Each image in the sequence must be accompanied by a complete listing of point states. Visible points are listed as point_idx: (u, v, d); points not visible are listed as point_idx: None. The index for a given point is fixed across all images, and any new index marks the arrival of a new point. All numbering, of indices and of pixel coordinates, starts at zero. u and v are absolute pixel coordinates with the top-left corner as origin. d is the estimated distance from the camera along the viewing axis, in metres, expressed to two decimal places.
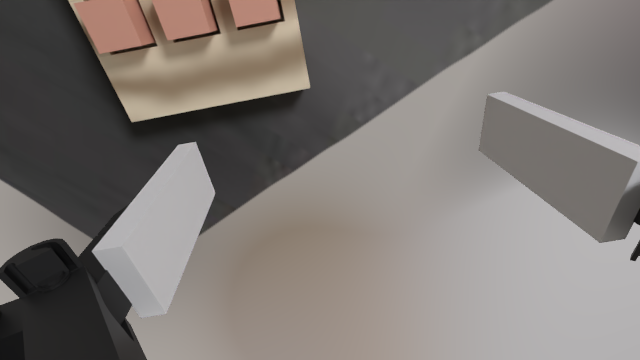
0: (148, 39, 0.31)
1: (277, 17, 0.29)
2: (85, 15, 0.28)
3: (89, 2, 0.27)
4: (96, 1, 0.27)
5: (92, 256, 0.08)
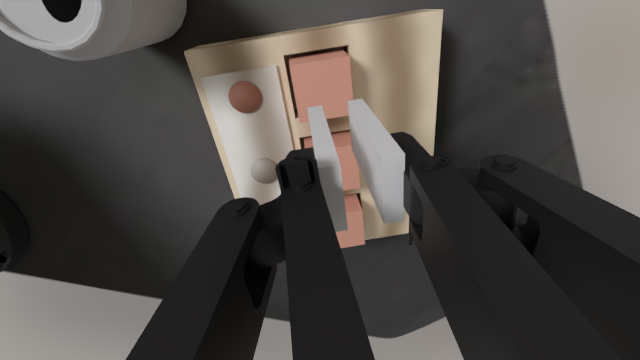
0: (354, 199, 0.30)
1: (347, 58, 0.21)
2: None
3: None
4: None
5: None
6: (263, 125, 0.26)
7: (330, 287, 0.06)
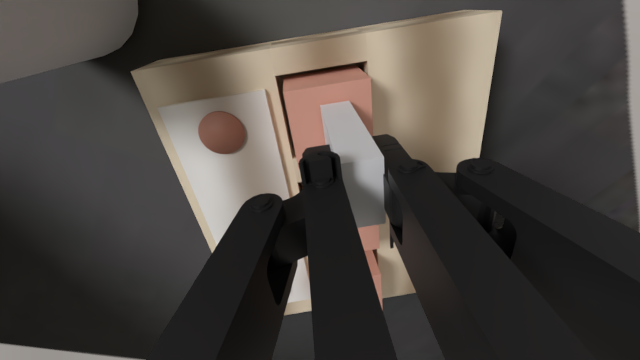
0: (369, 256, 0.23)
1: (367, 82, 0.15)
2: None
3: None
4: None
5: None
6: (248, 168, 0.19)
7: (352, 284, 0.06)
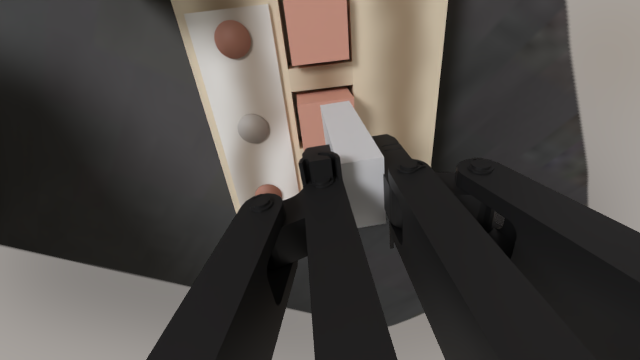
0: None
1: None
2: None
3: None
4: None
5: None
6: (252, 74, 0.23)
7: (352, 284, 0.06)
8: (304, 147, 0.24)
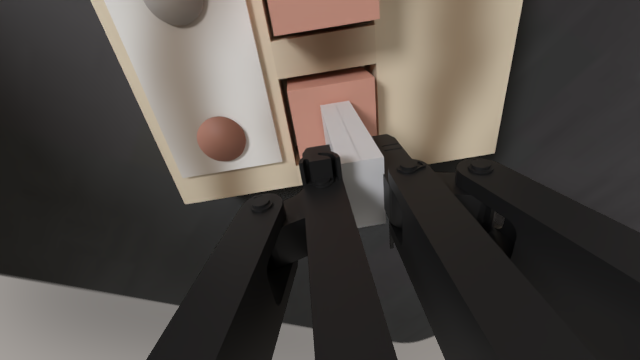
0: (358, 71, 0.16)
1: None
2: None
3: (300, 145, 0.16)
4: (298, 134, 0.16)
5: None
6: None
7: (352, 284, 0.06)
8: (272, 13, 0.12)
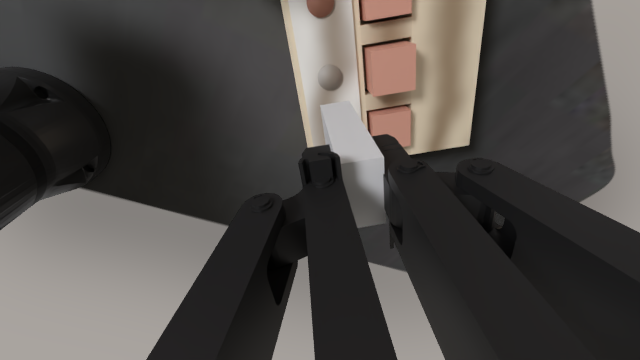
0: (402, 105, 0.35)
1: None
2: None
3: None
4: (374, 135, 0.34)
5: None
6: (332, 31, 0.29)
7: (352, 284, 0.06)
8: (374, 89, 0.30)
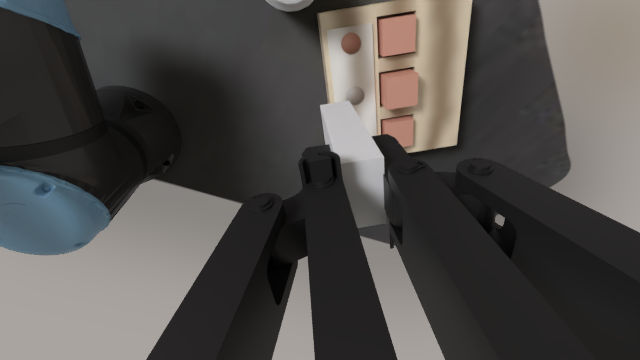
0: (406, 115, 0.46)
1: (414, 16, 0.38)
2: None
3: None
4: None
5: None
6: (358, 62, 0.41)
7: (352, 284, 0.06)
8: (387, 104, 0.42)
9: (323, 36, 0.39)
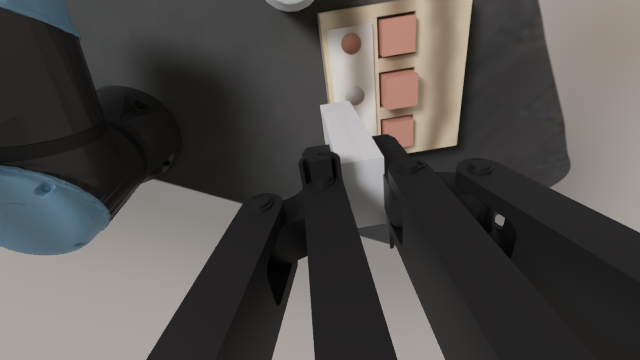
0: (406, 115, 0.46)
1: (414, 16, 0.38)
2: None
3: None
4: None
5: None
6: (358, 63, 0.41)
7: (352, 284, 0.06)
8: (387, 104, 0.42)
9: (323, 36, 0.39)
